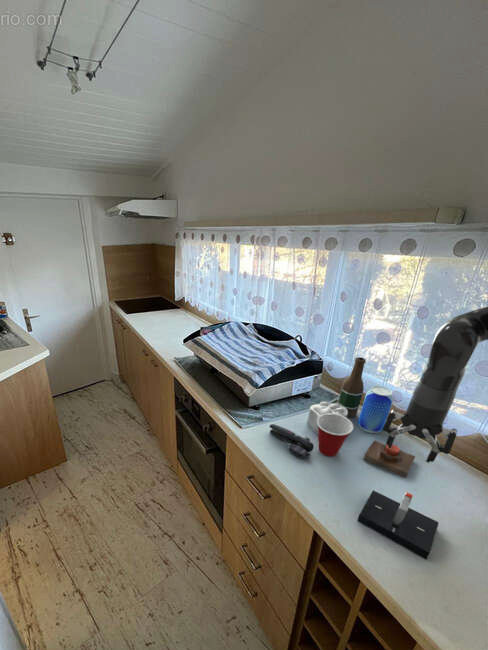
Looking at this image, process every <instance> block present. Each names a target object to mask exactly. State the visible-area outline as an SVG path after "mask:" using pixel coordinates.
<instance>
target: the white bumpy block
mask: <svg viewBox="0 0 488 650" xmlns="http://www.w3.org/2000/svg"><path fill="white" fill-rule="evenodd" d="M328 413H331V414H338V415H341V416H344V417H345V418H347V415H348V411H347V409H346V408H344V407H342V406H340V405H338V403H331V402H327V401H320V403H317V404H313V405H311V406H310V407H309V411H308V416H307V420H306V425H307V426H308V427H309V428H310V429H311V430H312V431H313V432H314V433H315V434H316V435H318V432H319V429H318V425H317V418H318V417H319V416H321V415H322V414H328ZM347 419H348V418H347Z"/></svg>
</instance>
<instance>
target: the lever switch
mask: <svg viewBox="0 0 488 650" xmlns="http://www.w3.org/2000/svg"><path fill="white" fill-rule="evenodd" d="M400 504H401V502H399V501H397V500H394V499H392V498H390V497H388V496H386V495H384V494H382V493H380V492H378V491H375V490H374V489H372V491H371V492H370V495H369V496H368V498H367V500H366V502H365V504H364V505H363V507H362V509H361V511H360V513H359V515H358V518H357V520H356V521H357V522H359V523H360V524H362V525H364V526H366V527H367V528H369V529H370V530H373V531H374V532H376V533H379V534H380V535H381V536H384V537H385V538H387V539H389V540H391V541H393V542H394V543H396V544H397V545H399V546H401V547H403V548H404V549H407V550H408V551H410V552H411V553H414V554H415V555H417V556H419V557H421V558H423V559H424V560H427V559H428V558H429V556H430V555H431V551H432V547H433V545H434V540H435V538H436V534H437V530H438V527H439V524H440V523H439V521H437V520H436V519H435V520H434V519H433V518H431V517H429V516H427V515H425V514H422V513H421V512H419V511H416V510H415V509H413V508H410V507H409V508H408V510H407V513H406V515H405V517H404V519H403V521H402V523H401V525H400V527H399V528H398V527H396V526H394V525H392V522H393V520H394V518H395V515H396V513H397V510H398V508H399V506H400Z"/></svg>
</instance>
